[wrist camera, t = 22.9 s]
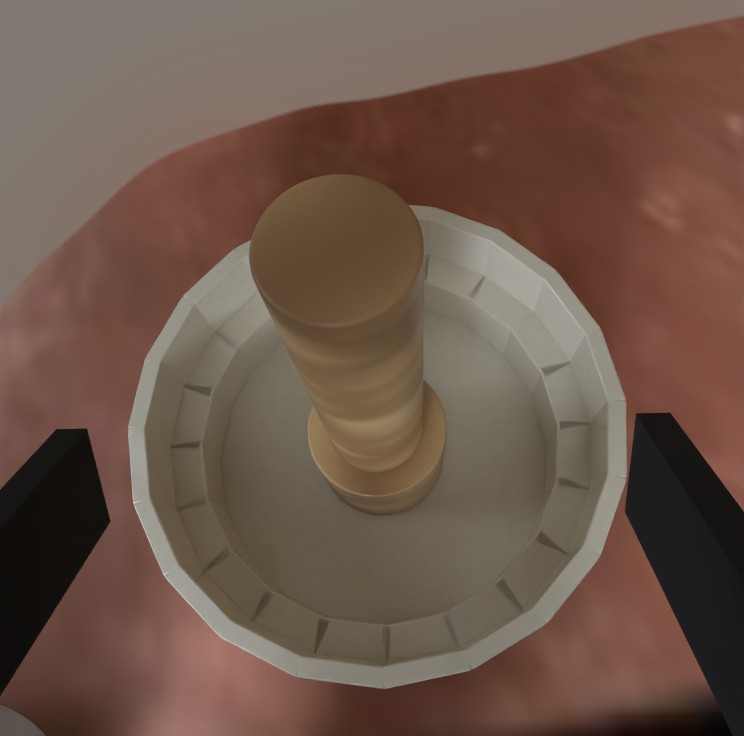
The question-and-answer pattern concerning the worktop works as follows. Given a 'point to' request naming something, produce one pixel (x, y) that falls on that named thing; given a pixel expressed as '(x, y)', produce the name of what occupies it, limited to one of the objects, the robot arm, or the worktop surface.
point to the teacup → (16, 724)
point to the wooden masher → (355, 335)
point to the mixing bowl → (387, 532)
